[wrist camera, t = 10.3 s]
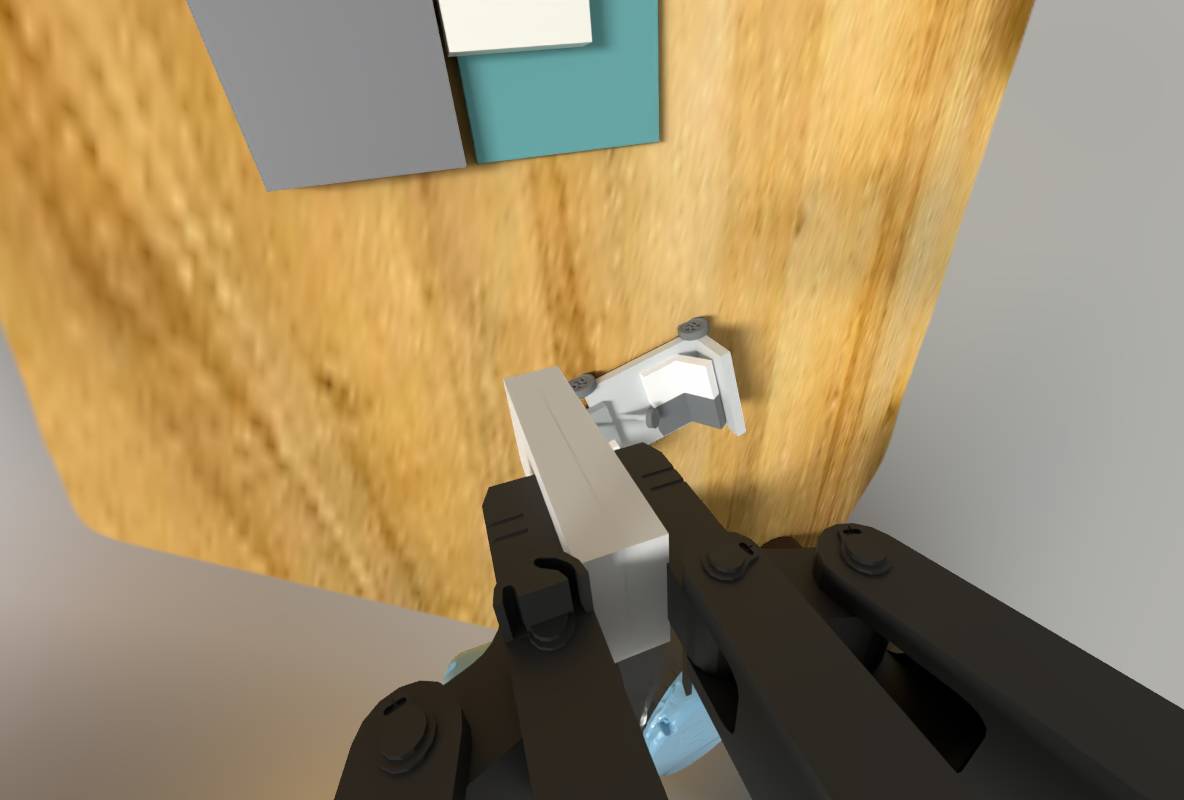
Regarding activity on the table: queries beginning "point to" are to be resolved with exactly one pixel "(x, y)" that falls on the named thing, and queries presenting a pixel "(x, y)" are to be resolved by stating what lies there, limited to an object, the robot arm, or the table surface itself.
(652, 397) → the toy car
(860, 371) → the table surface
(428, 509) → the table surface
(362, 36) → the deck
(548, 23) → the tile
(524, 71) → the mat
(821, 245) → the table surface
